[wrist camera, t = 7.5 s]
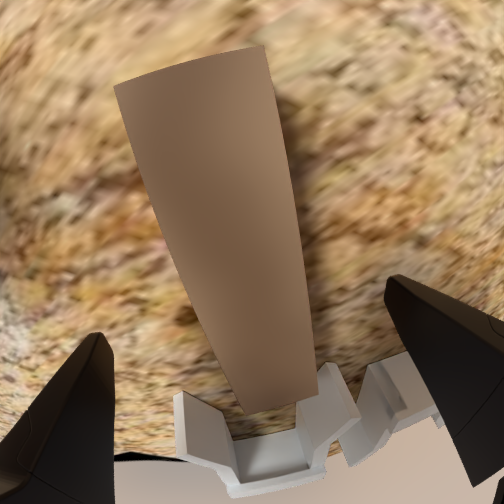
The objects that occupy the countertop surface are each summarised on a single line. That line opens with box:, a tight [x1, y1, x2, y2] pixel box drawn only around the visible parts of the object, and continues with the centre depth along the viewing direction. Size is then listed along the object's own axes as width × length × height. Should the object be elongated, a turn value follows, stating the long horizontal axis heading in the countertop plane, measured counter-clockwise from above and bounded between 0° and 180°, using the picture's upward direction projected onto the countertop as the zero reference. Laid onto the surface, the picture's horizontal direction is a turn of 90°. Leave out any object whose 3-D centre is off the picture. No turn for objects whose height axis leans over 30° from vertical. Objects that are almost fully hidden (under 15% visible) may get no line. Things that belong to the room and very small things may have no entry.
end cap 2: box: [338, 351, 445, 467], centre depth 19 cm, size 10×9×5 cm
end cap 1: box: [173, 362, 362, 499], centre depth 17 cm, size 10×9×5 cm
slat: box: [113, 45, 319, 416], centre depth 11 cm, size 4×14×4 cm, turn 12°
